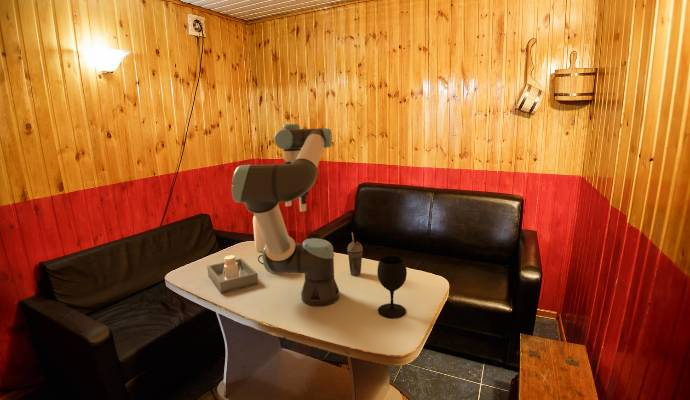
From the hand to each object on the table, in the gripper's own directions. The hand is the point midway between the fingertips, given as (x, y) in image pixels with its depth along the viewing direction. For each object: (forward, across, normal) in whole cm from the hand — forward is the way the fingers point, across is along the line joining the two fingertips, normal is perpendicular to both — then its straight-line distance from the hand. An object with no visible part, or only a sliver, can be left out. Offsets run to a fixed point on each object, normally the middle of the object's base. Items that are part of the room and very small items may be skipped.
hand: (295, 208), depth 163 cm
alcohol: (+31, +43, -1) cm, 53 cm away
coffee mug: (+31, +12, +8) cm, 34 cm away
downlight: (+30, +14, +26) cm, 43 cm away
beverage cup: (+31, -16, -20) cm, 41 cm away
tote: (+31, +14, +26) cm, 43 cm away
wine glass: (+32, -51, -11) cm, 61 cm away
